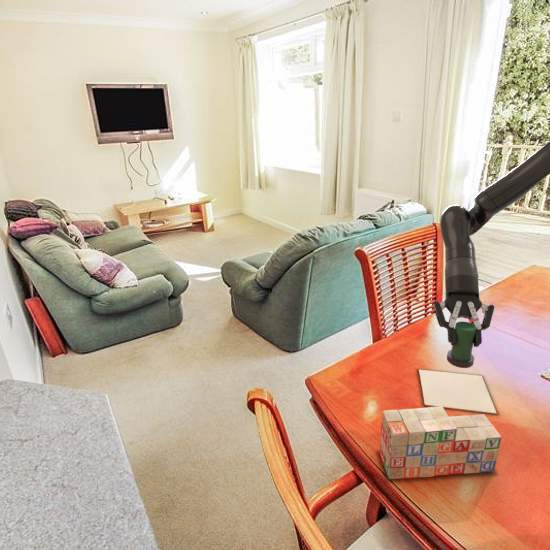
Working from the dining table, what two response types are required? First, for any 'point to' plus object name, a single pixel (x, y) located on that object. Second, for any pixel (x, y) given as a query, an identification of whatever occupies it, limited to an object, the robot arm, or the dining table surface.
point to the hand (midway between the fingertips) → (464, 345)
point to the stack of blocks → (436, 443)
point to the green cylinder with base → (462, 346)
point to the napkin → (455, 391)
